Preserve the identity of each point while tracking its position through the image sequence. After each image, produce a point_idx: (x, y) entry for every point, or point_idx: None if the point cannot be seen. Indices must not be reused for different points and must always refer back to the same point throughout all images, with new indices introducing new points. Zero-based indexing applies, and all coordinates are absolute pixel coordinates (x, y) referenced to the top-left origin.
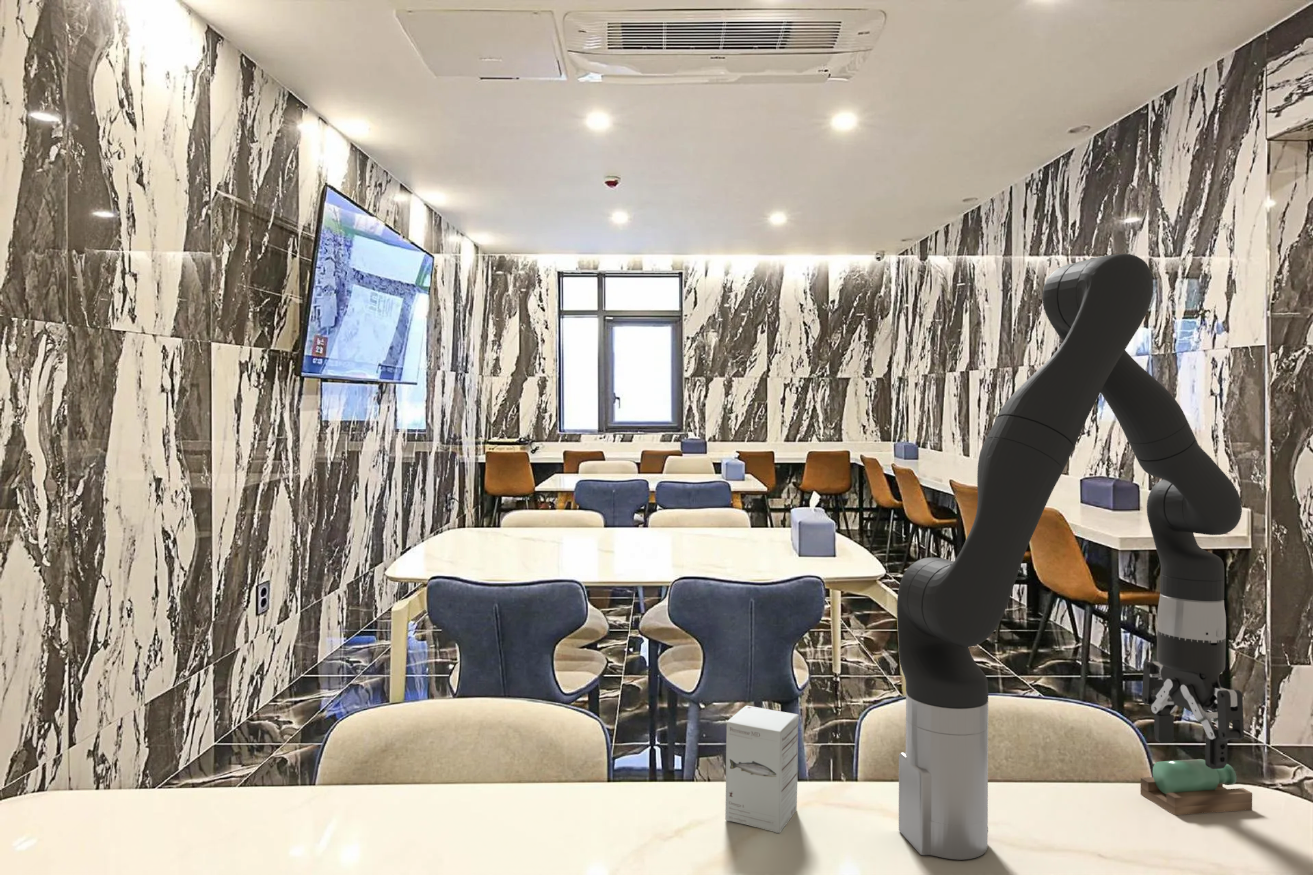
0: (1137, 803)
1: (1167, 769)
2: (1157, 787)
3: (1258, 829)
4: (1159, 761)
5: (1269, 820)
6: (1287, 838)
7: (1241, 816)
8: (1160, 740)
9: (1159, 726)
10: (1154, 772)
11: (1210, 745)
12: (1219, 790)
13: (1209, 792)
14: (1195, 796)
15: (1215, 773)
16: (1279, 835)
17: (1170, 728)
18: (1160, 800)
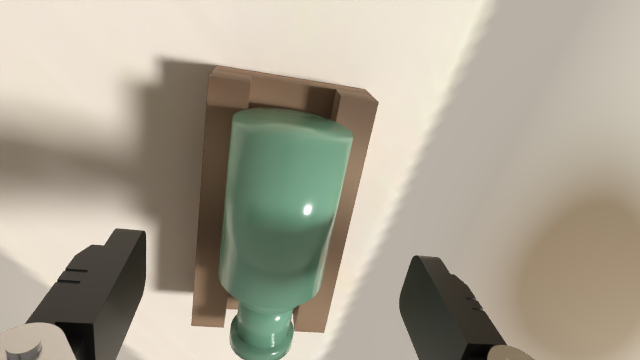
0: (318, 19)
1: (276, 135)
2: None
3: (94, 218)
4: (324, 147)
5: None
6: (36, 243)
7: (171, 240)
8: (416, 262)
9: (443, 301)
10: (341, 131)
11: (72, 297)
12: None
13: (220, 222)
14: (203, 155)
15: (223, 284)
16: (55, 238)
17: (420, 339)
18: (278, 78)
